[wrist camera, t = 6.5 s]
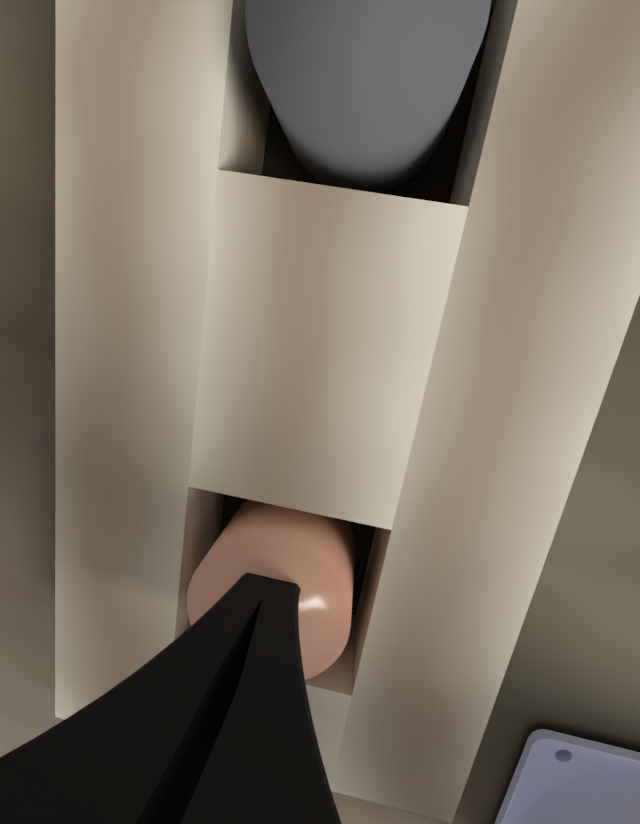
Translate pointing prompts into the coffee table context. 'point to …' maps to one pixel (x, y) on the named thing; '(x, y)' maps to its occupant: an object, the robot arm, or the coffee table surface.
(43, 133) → the coffee table surface
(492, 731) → the coffee table surface
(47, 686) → the coffee table surface
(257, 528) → the terracotta button
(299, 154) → the charcoal button
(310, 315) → the button panel
